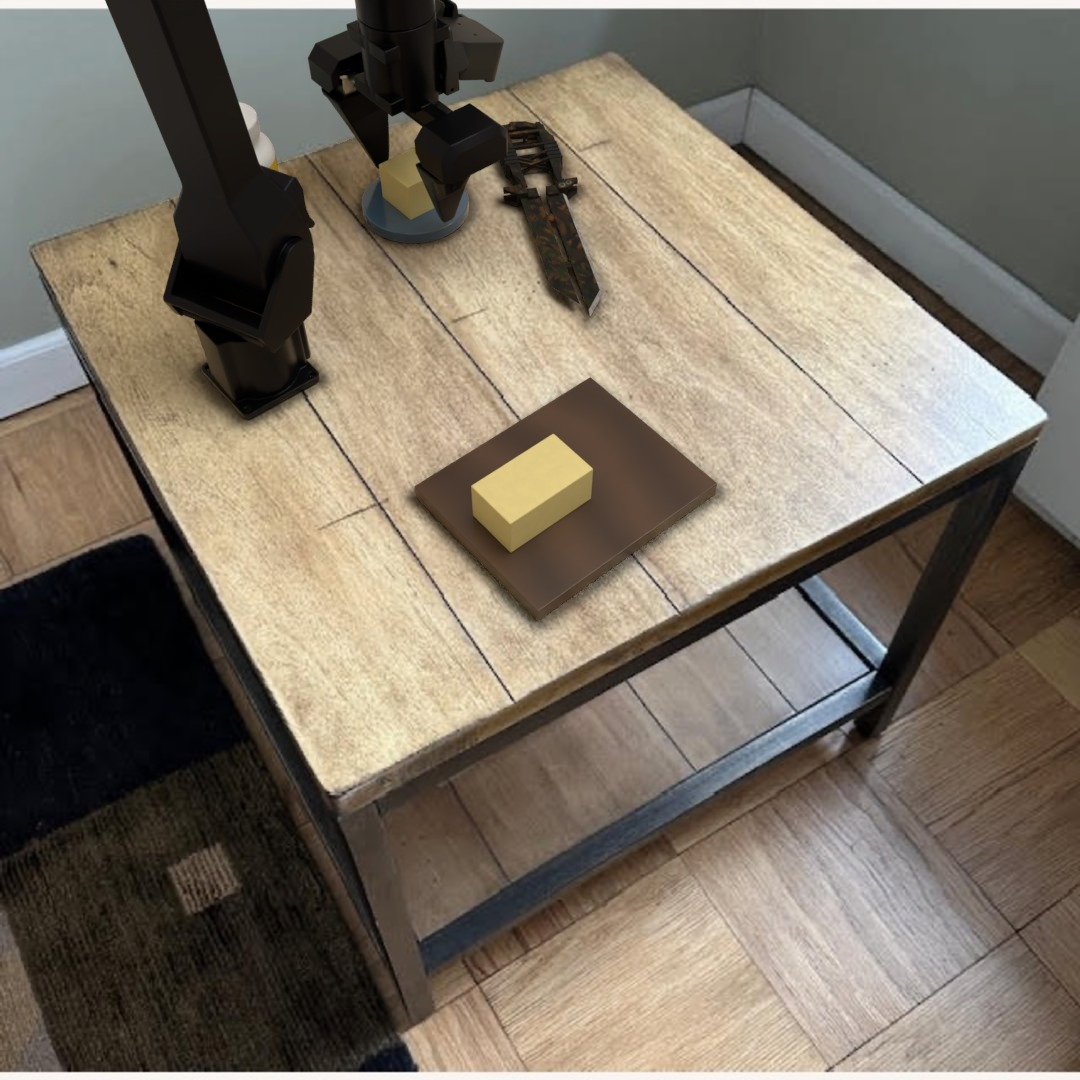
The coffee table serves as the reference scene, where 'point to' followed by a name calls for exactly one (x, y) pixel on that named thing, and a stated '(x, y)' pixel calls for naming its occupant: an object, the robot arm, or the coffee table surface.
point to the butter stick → (531, 492)
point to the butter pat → (405, 185)
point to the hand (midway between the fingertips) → (414, 192)
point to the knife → (559, 208)
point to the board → (594, 527)
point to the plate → (399, 226)
